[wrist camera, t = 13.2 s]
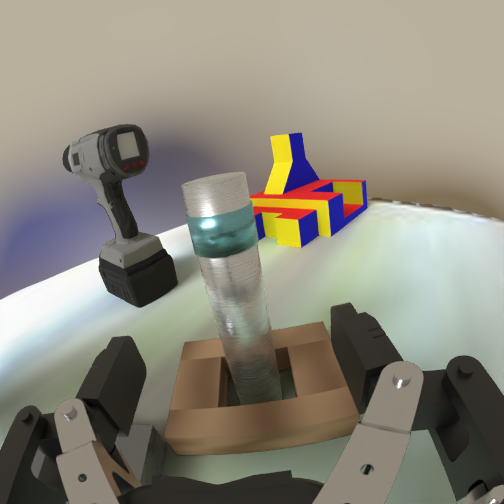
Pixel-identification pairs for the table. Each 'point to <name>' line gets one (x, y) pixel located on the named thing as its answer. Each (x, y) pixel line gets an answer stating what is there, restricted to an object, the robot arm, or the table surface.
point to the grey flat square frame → (132, 453)
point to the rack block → (262, 414)
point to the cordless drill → (122, 213)
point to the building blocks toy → (303, 198)
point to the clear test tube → (234, 281)
